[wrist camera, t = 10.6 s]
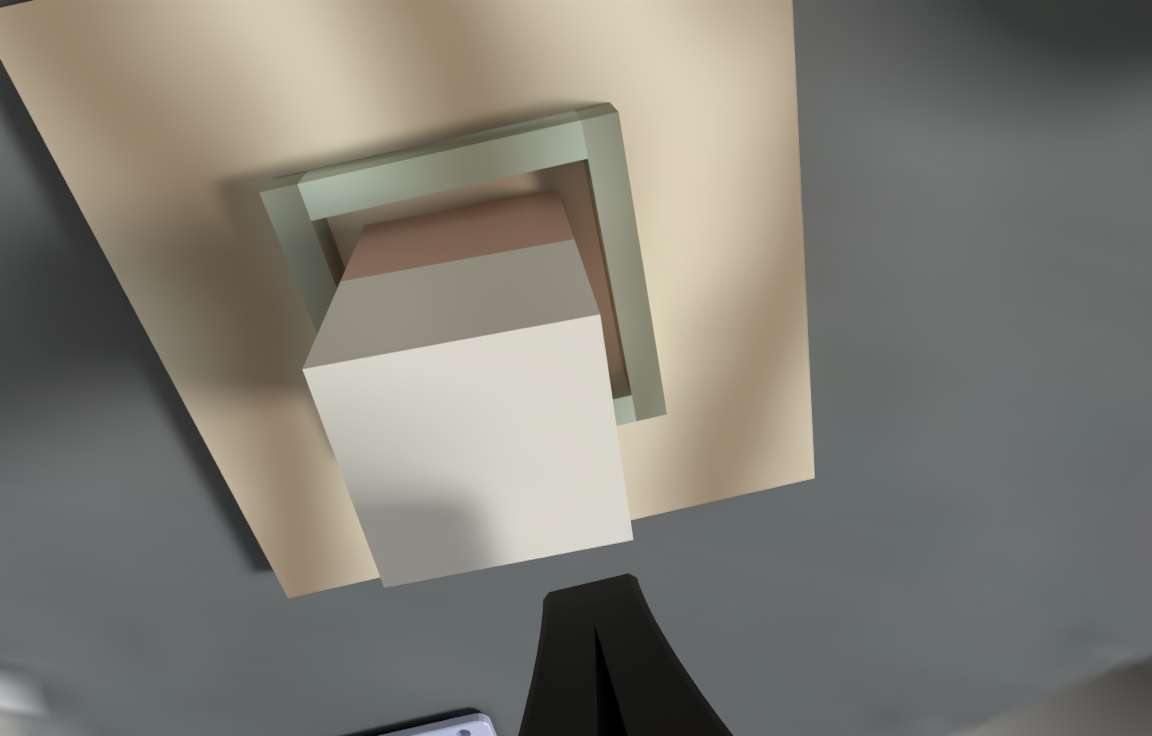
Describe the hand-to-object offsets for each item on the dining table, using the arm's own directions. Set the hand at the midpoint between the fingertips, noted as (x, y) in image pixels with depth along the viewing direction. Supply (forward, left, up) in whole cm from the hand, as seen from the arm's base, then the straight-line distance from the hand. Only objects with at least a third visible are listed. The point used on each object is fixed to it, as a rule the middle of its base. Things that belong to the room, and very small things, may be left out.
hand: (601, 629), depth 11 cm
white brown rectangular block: (-1, +2, -9) cm, 9 cm away
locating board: (-1, +2, -10) cm, 11 cm away
